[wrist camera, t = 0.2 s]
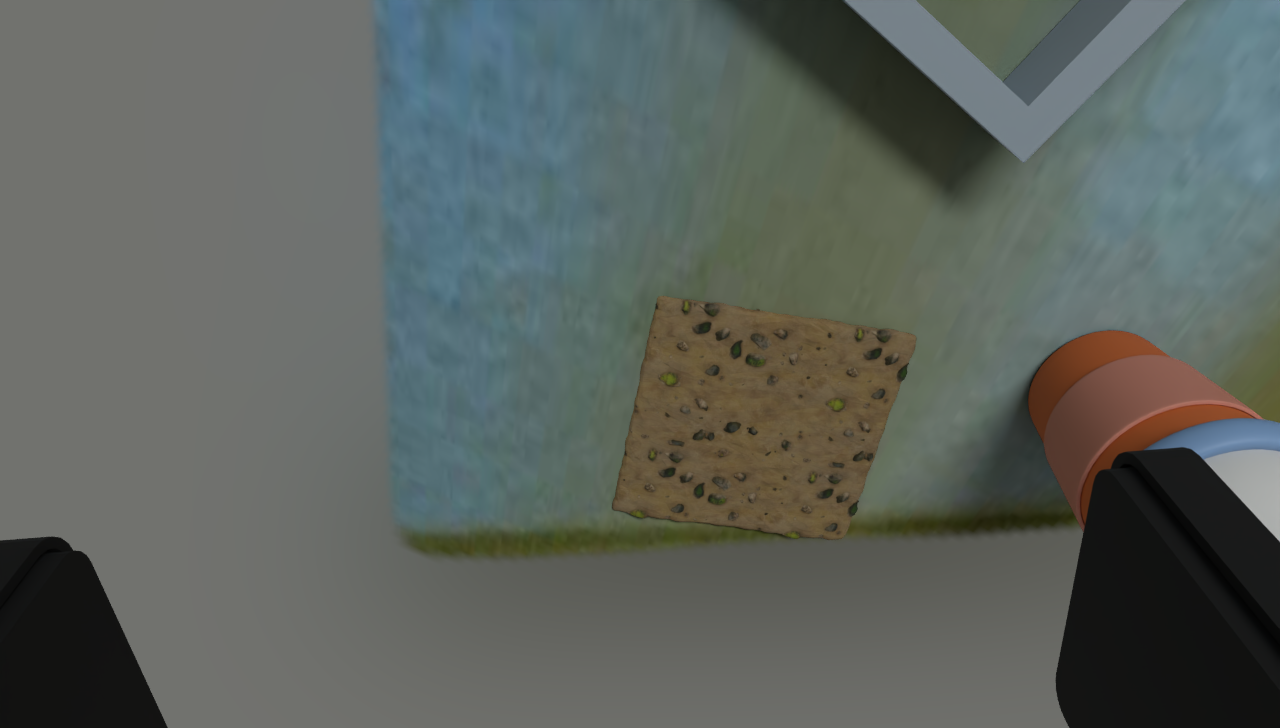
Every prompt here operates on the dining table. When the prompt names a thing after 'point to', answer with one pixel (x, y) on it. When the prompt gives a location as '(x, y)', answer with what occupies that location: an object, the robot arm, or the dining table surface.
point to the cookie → (757, 418)
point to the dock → (1022, 63)
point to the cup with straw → (1147, 420)
